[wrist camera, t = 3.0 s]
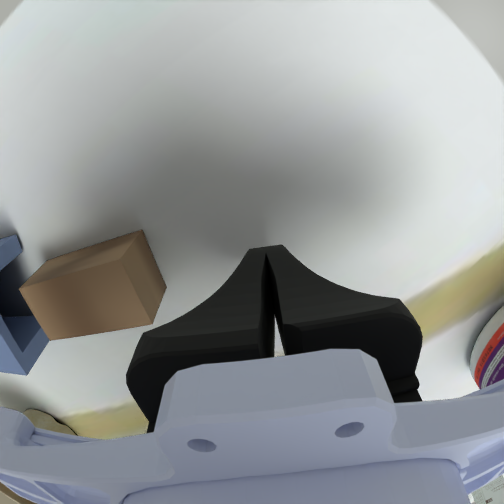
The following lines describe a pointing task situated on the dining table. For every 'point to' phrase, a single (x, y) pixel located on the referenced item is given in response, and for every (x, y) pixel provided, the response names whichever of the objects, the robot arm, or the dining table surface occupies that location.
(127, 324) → the walnut peg
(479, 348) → the pill bottle
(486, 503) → the skincare box
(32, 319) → the socket block
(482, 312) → the dining table surface
